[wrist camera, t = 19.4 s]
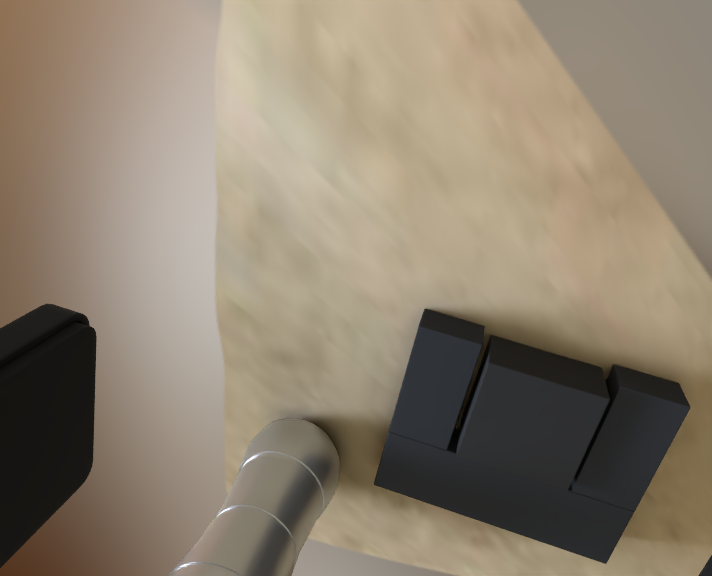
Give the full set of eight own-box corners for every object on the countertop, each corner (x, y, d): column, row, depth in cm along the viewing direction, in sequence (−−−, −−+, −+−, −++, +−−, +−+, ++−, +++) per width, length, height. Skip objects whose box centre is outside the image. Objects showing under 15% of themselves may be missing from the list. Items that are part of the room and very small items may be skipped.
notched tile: (424, 308, 36) (418, 325, 34) (679, 383, 34) (691, 407, 32) (381, 461, 41) (373, 485, 39) (601, 534, 39) (606, 564, 37)
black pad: (490, 334, 36) (488, 362, 33) (602, 367, 35) (611, 399, 32) (460, 422, 39) (455, 456, 35) (562, 455, 38) (567, 492, 35)
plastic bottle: (336, 403, 40) (194, 693, 22) (356, 486, 43) (240, 810, 25) (250, 407, 42) (54, 677, 24) (273, 486, 44) (108, 787, 26)
